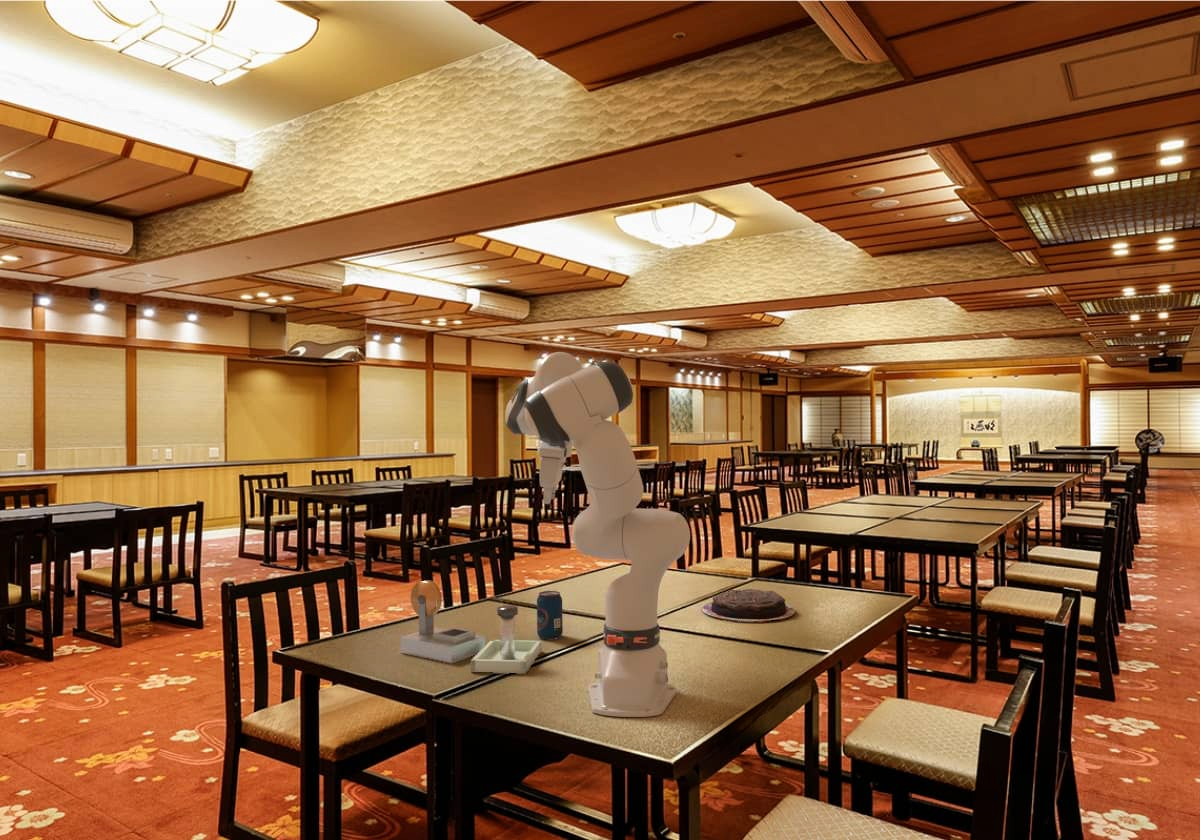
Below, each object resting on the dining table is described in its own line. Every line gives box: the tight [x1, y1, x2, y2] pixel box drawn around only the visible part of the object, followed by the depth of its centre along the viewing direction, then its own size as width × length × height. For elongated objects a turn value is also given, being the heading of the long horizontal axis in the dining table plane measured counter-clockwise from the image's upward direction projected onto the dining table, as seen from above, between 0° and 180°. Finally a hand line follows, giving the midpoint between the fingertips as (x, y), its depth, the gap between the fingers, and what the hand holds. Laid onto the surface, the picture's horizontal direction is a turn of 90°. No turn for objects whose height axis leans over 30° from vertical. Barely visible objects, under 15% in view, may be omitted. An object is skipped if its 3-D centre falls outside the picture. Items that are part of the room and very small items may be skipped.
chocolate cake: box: [701, 588, 796, 623], centre depth 236 cm, size 28×28×7 cm
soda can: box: [536, 590, 564, 640], centre depth 210 cm, size 7×7×12 cm
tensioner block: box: [400, 579, 486, 664], centre depth 198 cm, size 20×12×18 cm, turn 56°
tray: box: [470, 639, 542, 675], centre depth 188 cm, size 18×13×3 cm
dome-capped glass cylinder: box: [496, 604, 519, 660], centre depth 188 cm, size 5×5×12 cm
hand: (548, 501), depth 201 cm, fingers open, 8 cm apart
